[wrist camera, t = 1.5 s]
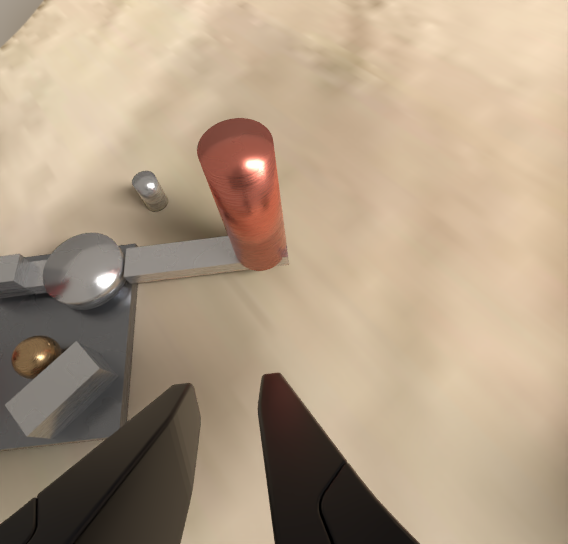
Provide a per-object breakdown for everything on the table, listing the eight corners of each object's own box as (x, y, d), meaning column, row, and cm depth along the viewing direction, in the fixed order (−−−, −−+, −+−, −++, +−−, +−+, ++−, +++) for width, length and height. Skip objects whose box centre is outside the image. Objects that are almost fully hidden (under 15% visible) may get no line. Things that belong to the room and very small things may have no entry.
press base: (-43, 456, 21) (-98, 455, 18) (20, 211, 29) (-13, 183, 26) (157, 433, 21) (133, 428, 18) (168, 192, 29) (152, 162, 26)
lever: (-17, 322, 24) (-198, 246, 15) (1, 254, 26) (-149, 155, 17) (291, 284, 23) (278, 186, 15) (283, 219, 25) (268, 101, 17)
